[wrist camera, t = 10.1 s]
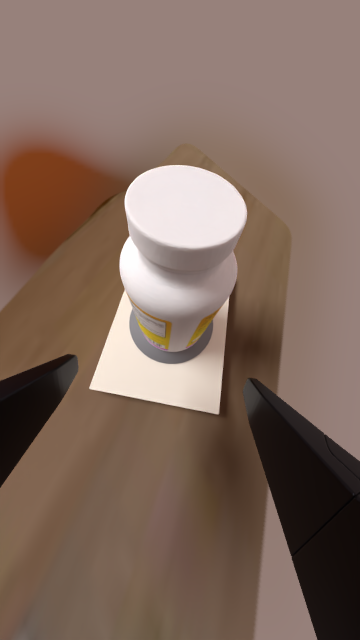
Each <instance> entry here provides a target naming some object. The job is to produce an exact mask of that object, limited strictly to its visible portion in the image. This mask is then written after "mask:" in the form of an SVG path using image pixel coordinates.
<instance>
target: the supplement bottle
mask: <svg viewBox="0 0 360 640" xmlns="http://www.w3.org/2000/svg"><path fill="white" fill-rule="evenodd" d="M125 210H126V215H127V221H128V229H129V234H130V237H129V238H128V239H127V241H126V243H125V244H124V247H123V249H122V252H121V256H120V274H121V279H122V282H123V285H124V288H125V291H126V293H127V295H128V298H129V301H130V303H131V306H132V308H133V311H134V313H135V316H136V319H137V321H138V324H139V326H140V329H141V331H142V333H143V335H144V337H145V338H146V339H147V341H148V342H149V343H150V344H152V345H153V346H154V347H156V348H158V349H160V350H163V351H168V352H178V351H182V350H185V349H187V348H189V347H191V346H192V345H193V344H195V343H196V342H197V341H198V339H199V338H200V337H201V335H202V334H203V332H204V331H205V330H206V328H207V327H208V325H209V324H210V323H211V321H212V320H213V318H214V317H215V315H216V314H217V313H218V311H219V310H220V308H221V307H222V306H223V304H224V303H225V302H226V300H227V299H228V297H229V296H230V294H231V292H232V290H233V288H234V286H235V283H236V278H237V262H236V258H235V255H234V252H233V250H234V248H235V246H236V244H237V242H238V240H239V237H240V235H241V233H242V231H243V229H244V226H245V223H246V219H247V209H246V205H245V202H244V200H243V198H242V196H241V195H240V194H239V192H238V191H237V190H236V189H235V187H234V186H232V185H231V184H230V183H229V182H228V181H226V180H225V179H223V178H222V177H220V176H219V175H217V174H215V173H212V172H209V171H207V170H204V169H201V168H197V167H192V166H184V165H171V166H163V167H159V168H155V169H152V170H149V171H147V172H145V173H143V174H141V175H140V176H138V177H137V178H136V179H135V180H134V181H133V182H132V183H131V185H130V186H129V188H128V190H127V193H126V196H125Z"/></svg>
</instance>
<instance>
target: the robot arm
mask: <svg viewBox="0 0 360 640" xmlns="http://www.w3.org/2000/svg"><path fill="white" fill-rule="evenodd" d="M77 372H78V358H77V356H76V355H72V354H67V355H64V356H62V357H59V358H57V359H54V360H52V361H49V362H47V363H44V364H42V365H39V366H37V367H34V368H32V369H29V370H27V371H24V372H22V373H19V374H17V375H14V376H11V377H9V378H6V379H4V380H1V381H0V487H1V486H2V484H3V483H4V482H5V480H6V479H7V477H8V476H9V475H10V473H11V472H12V470H13V469H14V467H15V466H16V465H17V463H18V462H19V460H20V459H21V457H22V456H23V455H24V453H25V452H26V450H27V449H28V448H29V446H30V445H31V443H32V442H33V440H34V439H35V438H36V436H37V435H38V433H39V432H40V430H41V429H42V428H43V426H44V425H45V423H46V422H47V421H48V419H49V418H50V416H51V415H52V413H53V412H54V411H55V409H56V408H57V406H58V405H59V403H60V402H61V400H62V399H63V397H64V395H65V394H66V392H67V390H68V388H69V387H70V385H71V383H72V381H73V380H74V378H75V376H76V374H77ZM243 396H244V401H245V405H246V410H247V415H248V420H249V424H250V427H251V430H252V433H253V437H254V440H255V443H256V446H257V449H258V452H259V456H260V459H261V462H262V465H263V468H264V471H265V475H266V478H267V481H268V484H269V487H270V490H271V494H272V497H273V500H274V503H275V506H276V509H277V513H278V516H279V519H280V522H281V525H282V528H283V532H284V534H285V538H286V541H287V544H288V547H289V551H290V554H291V556H292V561H293V563H294V567H295V570H296V573H297V576H298V580H299V583H300V586H301V589H302V592H303V595H304V598H305V602H306V605H307V608H308V611H309V614H310V617H311V621H312V624H313V627H314V630H315V633H316V636H317V640H360V461H359V460H357V459H356V458H355V457H353V456H352V455H351V454H349V453H348V452H347V451H346V450H344V449H343V448H342V447H340V446H339V445H338V444H337V443H335V442H334V441H333V440H332V439H330V438H329V437H328V436H327V435H324V433H323V432H322V431H320V430H319V429H318V428H317V427H315V426H314V425H313V424H312V423H310V422H309V421H308V420H307V419H305V418H304V417H303V416H302V415H301V414H299V413H298V412H297V411H296V410H294V409H293V408H292V407H291V406H289V405H288V404H287V403H286V402H284V401H283V400H282V399H281V398H279V397H278V396H277V395H276V394H274V393H273V392H272V391H271V390H269V389H268V388H267V387H266V386H264V385H263V384H262V383H261V382H259V381H258V380H257V379H254V378H248V379H247V381H246V384H245V386H244V389H243Z"/></svg>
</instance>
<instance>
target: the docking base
mask: <svg viewBox="0 0 360 640" xmlns="http://www.w3.org/2000/svg"><path fill="white" fill-rule="evenodd" d="M228 305H229V297H228V299H227V300H226V302H225V303H224V304H223V306H222V307H221V308H220V310H219V311H218V313H217V314H216V315H215V317H214V318H213V320H212V321H211V323H210V324H209V325H208V327H207V328H206V330H205V331H204V332H203V334H202V335H201V337H200V338H199V339H198V341H197V342H196V343H195V344H193V345H192V346H191V347H189V348H187V349H185V350H182V351H178V352H168V351H163V350H160V349H158V348H156V347H154V346H153V345H152V344H150V343H149V342H148V341H147V339H146V338H145V337H144V335H143V333H142V331H141V329H140V326H139V324H138V321H137V319H136V316H135V313H134V311H133V308H132V306H131V303H130V301H129V298H128V295H127V293H126V291H124V293H123V296H122V299H121V302H120V305H119V307H118V310H117V313H116V316H115V319H114V321H113V324H112V327H111V330H110V332H109V335H108V338H107V341H106V344H105V346H104V349H103V352H102V355H101V358H100V360H99V363H98V366H97V369H96V371H95V374H94V377H93V380H92V383H91V385H90V388H89V389H93V390H98V391H103V392H108V393H113V394H118V395H123V396H128V397H133V398H138V399H143V400H148V401H153V402H158V403H163V404H168V405H173V406H178V407H183V408H188V409H193V410H199V411H204V412H209V413H214V414H219V406H220V395H221V384H222V372H223V361H224V350H225V339H226V327H227V316H228Z"/></svg>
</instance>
